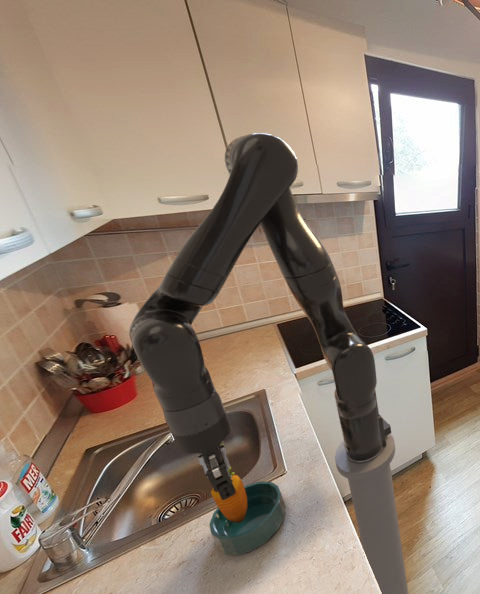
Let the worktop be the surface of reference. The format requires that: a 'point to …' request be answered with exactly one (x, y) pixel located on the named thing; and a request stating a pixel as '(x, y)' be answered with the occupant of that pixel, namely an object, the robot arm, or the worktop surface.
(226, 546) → the bowl
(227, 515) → the carrot
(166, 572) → the worktop surface
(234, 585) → the worktop surface
